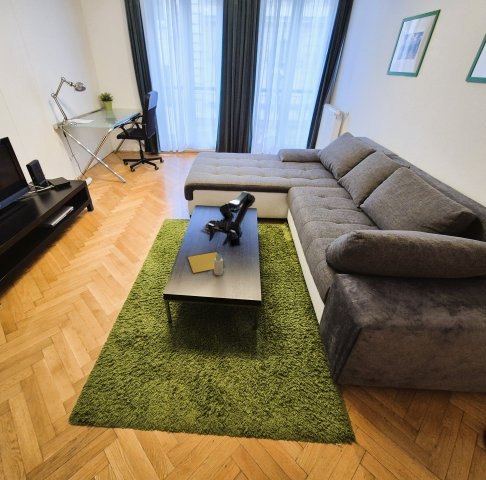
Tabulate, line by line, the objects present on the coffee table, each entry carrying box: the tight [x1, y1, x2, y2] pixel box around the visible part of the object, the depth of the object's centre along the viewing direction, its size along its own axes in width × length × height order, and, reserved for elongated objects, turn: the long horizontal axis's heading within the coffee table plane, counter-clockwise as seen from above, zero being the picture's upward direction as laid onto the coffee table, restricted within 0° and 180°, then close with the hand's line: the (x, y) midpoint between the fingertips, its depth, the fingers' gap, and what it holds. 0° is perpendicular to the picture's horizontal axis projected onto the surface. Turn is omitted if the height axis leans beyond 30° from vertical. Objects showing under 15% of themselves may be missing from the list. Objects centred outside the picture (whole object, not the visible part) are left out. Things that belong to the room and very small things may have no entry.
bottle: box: [213, 253, 224, 276], centre depth 153 cm, size 5×5×12 cm
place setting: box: [201, 219, 235, 234], centre depth 196 cm, size 18×20×6 cm
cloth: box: [187, 251, 225, 274], centre depth 164 cm, size 19×16×1 cm
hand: (216, 243), depth 156 cm, fingers open, 9 cm apart
